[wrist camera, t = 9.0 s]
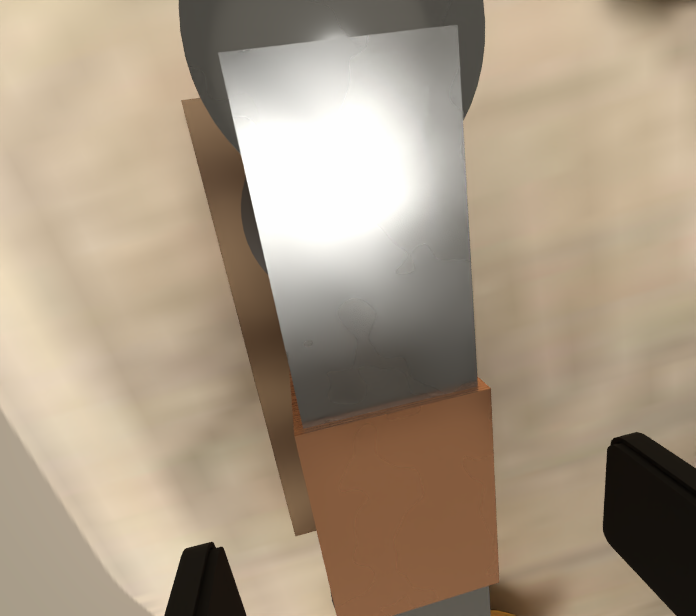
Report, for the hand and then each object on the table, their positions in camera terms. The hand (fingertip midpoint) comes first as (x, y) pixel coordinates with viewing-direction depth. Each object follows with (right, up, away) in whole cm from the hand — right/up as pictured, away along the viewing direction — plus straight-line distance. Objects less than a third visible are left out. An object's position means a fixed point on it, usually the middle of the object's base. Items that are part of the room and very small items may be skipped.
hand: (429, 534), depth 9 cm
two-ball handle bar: (-1, +1, +4) cm, 4 cm away
